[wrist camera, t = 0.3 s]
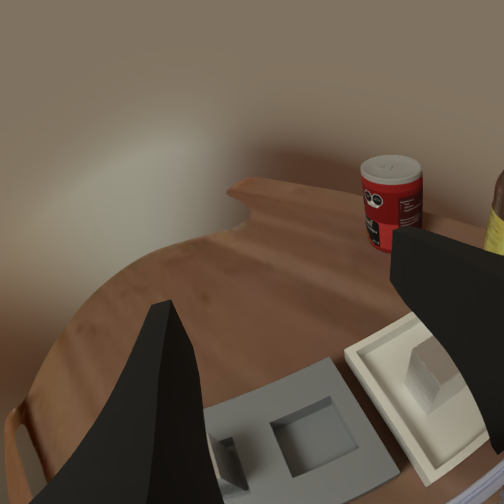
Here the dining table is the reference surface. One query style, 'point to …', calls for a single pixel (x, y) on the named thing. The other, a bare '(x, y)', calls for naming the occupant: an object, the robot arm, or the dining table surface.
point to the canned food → (391, 197)
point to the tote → (406, 407)
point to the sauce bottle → (496, 220)
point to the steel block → (432, 375)
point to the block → (225, 468)
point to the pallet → (302, 441)
